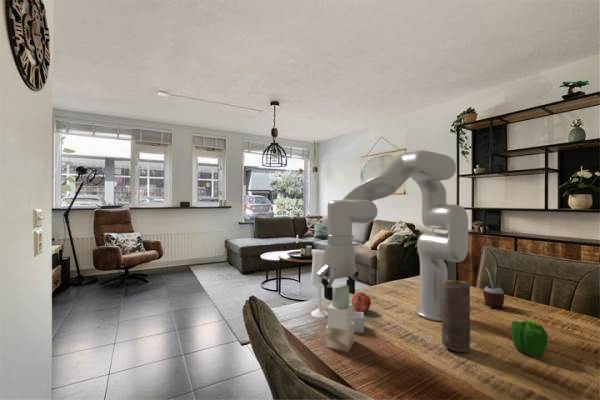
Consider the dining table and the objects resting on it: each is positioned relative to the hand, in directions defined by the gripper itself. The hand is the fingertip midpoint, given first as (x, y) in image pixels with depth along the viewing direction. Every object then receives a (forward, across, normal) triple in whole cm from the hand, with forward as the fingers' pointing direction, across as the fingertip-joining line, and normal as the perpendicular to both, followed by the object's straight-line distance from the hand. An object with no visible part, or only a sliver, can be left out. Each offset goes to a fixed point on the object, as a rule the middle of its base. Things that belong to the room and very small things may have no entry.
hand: (339, 296), depth 86 cm
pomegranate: (+15, -24, -14) cm, 32 cm away
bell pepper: (+15, -42, +35) cm, 57 cm away
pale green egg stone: (+3, 0, 0) cm, 3 cm away
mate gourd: (+15, -72, +14) cm, 75 cm away
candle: (+15, -26, +22) cm, 37 cm away
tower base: (+15, 0, 0) cm, 15 cm away
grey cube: (+15, -11, -4) cm, 19 cm away
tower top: (+9, 0, 0) cm, 9 cm away
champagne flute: (+15, -9, -21) cm, 27 cm away
